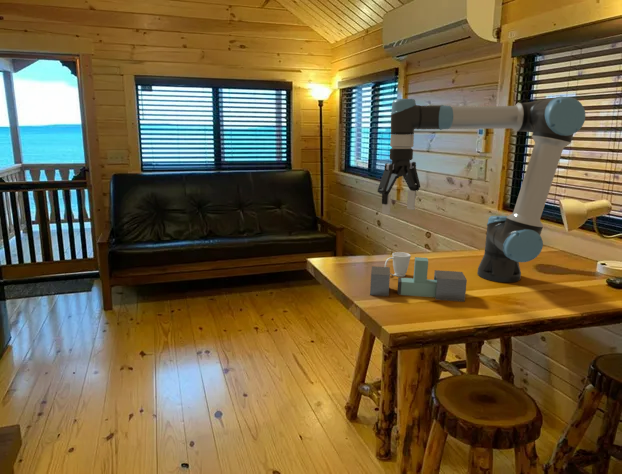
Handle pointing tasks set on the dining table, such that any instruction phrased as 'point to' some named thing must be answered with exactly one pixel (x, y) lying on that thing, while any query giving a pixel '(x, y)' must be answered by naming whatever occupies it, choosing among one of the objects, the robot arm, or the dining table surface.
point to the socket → (380, 281)
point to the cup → (400, 263)
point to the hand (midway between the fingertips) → (398, 211)
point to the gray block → (450, 285)
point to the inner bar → (418, 281)
